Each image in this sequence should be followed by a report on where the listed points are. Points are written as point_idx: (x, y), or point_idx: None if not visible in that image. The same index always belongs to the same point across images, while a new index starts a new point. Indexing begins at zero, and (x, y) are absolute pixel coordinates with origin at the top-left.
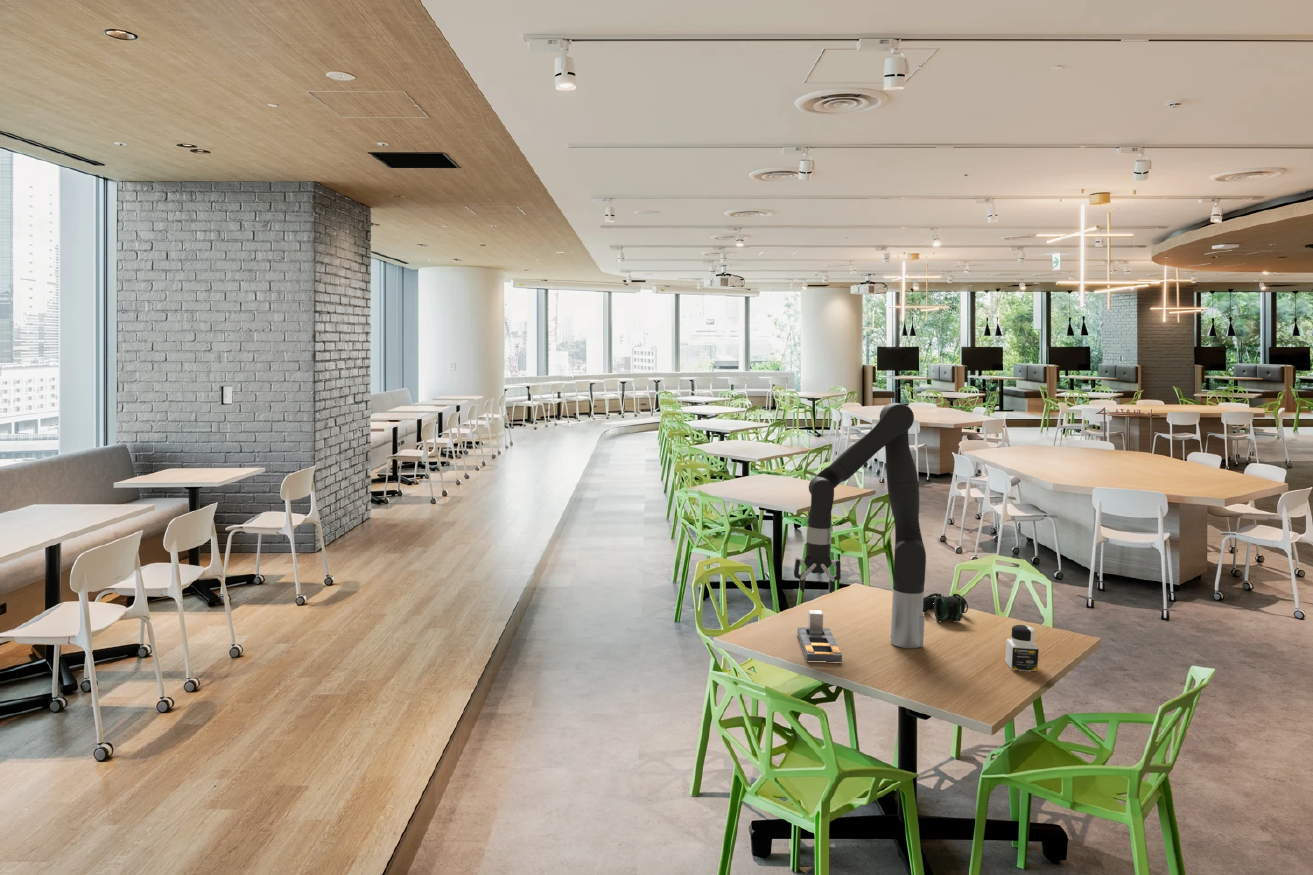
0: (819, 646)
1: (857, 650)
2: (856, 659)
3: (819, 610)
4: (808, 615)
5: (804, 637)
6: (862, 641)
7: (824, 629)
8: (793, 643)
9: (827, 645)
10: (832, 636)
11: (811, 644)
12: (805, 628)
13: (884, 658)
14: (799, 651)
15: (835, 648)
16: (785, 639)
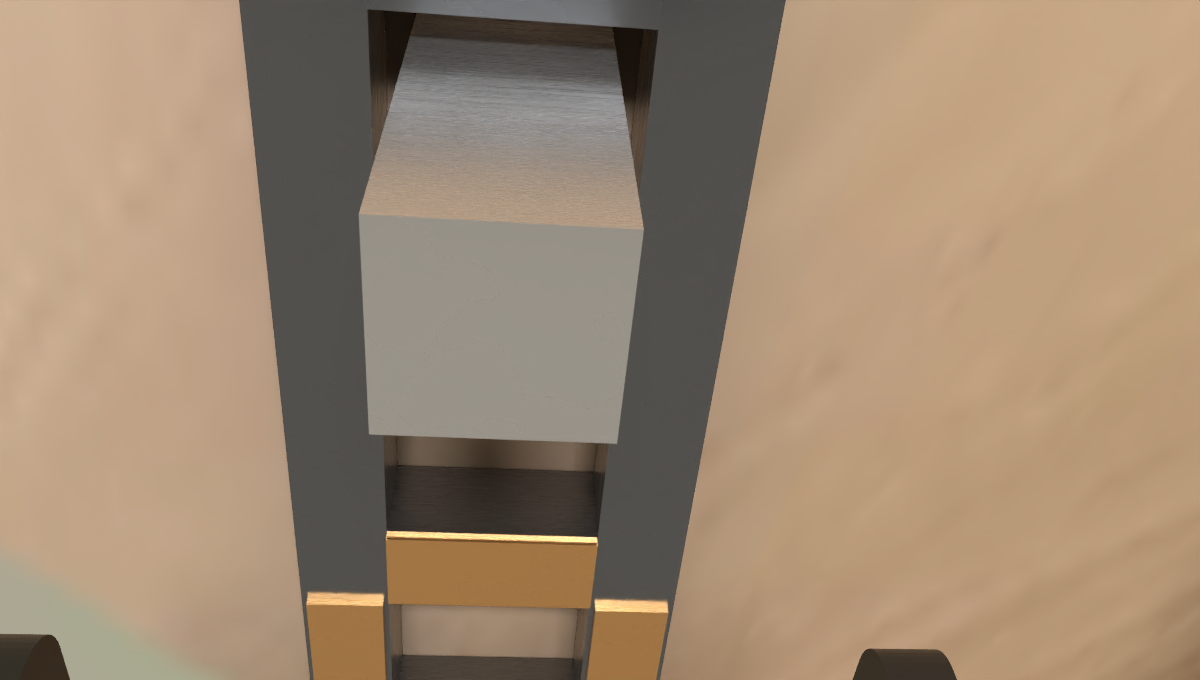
0: (472, 599)
1: (927, 423)
2: (808, 616)
3: (598, 237)
4: (375, 158)
5: (322, 368)
6: (1154, 142)
7: (691, 20)
8: (200, 247)
9: (562, 600)
10: (718, 318)
11: (387, 569)
12: None
13: (1086, 586)
14: (272, 474)
15: (627, 659)
16: (79, 98)
